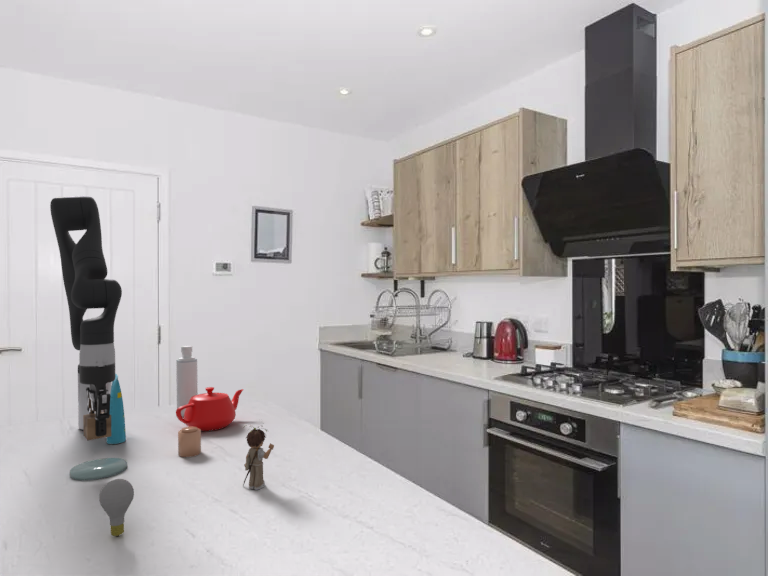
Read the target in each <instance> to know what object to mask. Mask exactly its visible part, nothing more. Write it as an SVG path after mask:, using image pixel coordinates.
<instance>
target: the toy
mask: <svg viewBox="0 0 768 576" xmlns="http://www.w3.org/2000/svg"><path fill="white" fill-rule="evenodd" d="M261 420H262V419H261ZM262 421H263V420H262ZM262 424H264V423H263V422H262ZM246 426H247V424H245V425H244V426H243V428H245V427H246ZM249 428H252V425H249ZM261 428H262V429H261ZM261 428H260V427H258V428H257V427H253V429H252V430H251V429H250V431H249V432H248V433H247V435H246V437H245V439H246V443H247V445H248V447H249V448H248V452H247V454H246V456H245V464H244V468H245V469H244V470H245V471H247V474H246V476H245V478H244V480H243V484H242V487H244V485H245V483H246V481H247V478H248V477H249V480H248V489H249V490H251V489H252V490H256V491H257V490H260V489H262V488H264V487H265V486H266V482H265V479H264V462H263V459H265V460H268V459H269V456H270V455H271V452H272V450H274V448H275V444H272V443H269V445H268V450H267V451H265V450H264V447H263V445H264V442H265V440H266V438H267V436H266V433H265V432H264V431H263V430H265V431H266V432H268V429H266V428H264V426H263V425H261Z"/></svg>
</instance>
